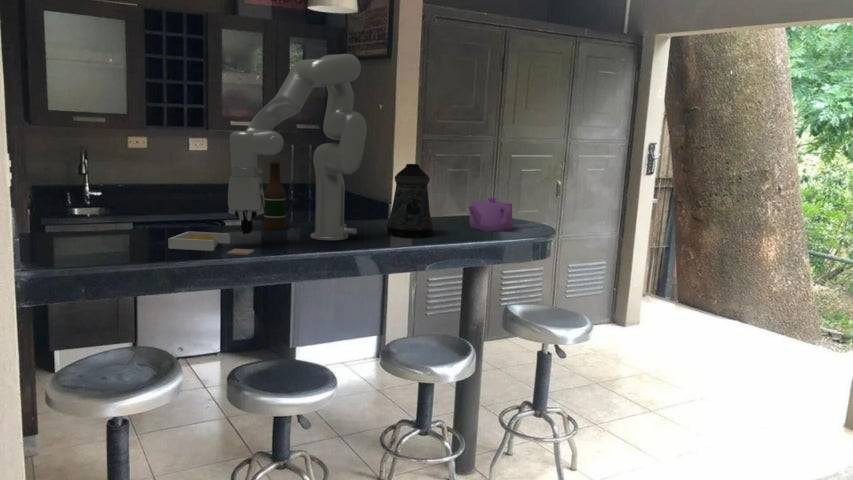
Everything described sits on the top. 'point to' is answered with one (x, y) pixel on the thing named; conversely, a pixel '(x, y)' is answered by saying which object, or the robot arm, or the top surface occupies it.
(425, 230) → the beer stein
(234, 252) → the tile
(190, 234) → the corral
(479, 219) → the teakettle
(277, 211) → the beer bottle
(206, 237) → the bread roll
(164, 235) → the top surface
